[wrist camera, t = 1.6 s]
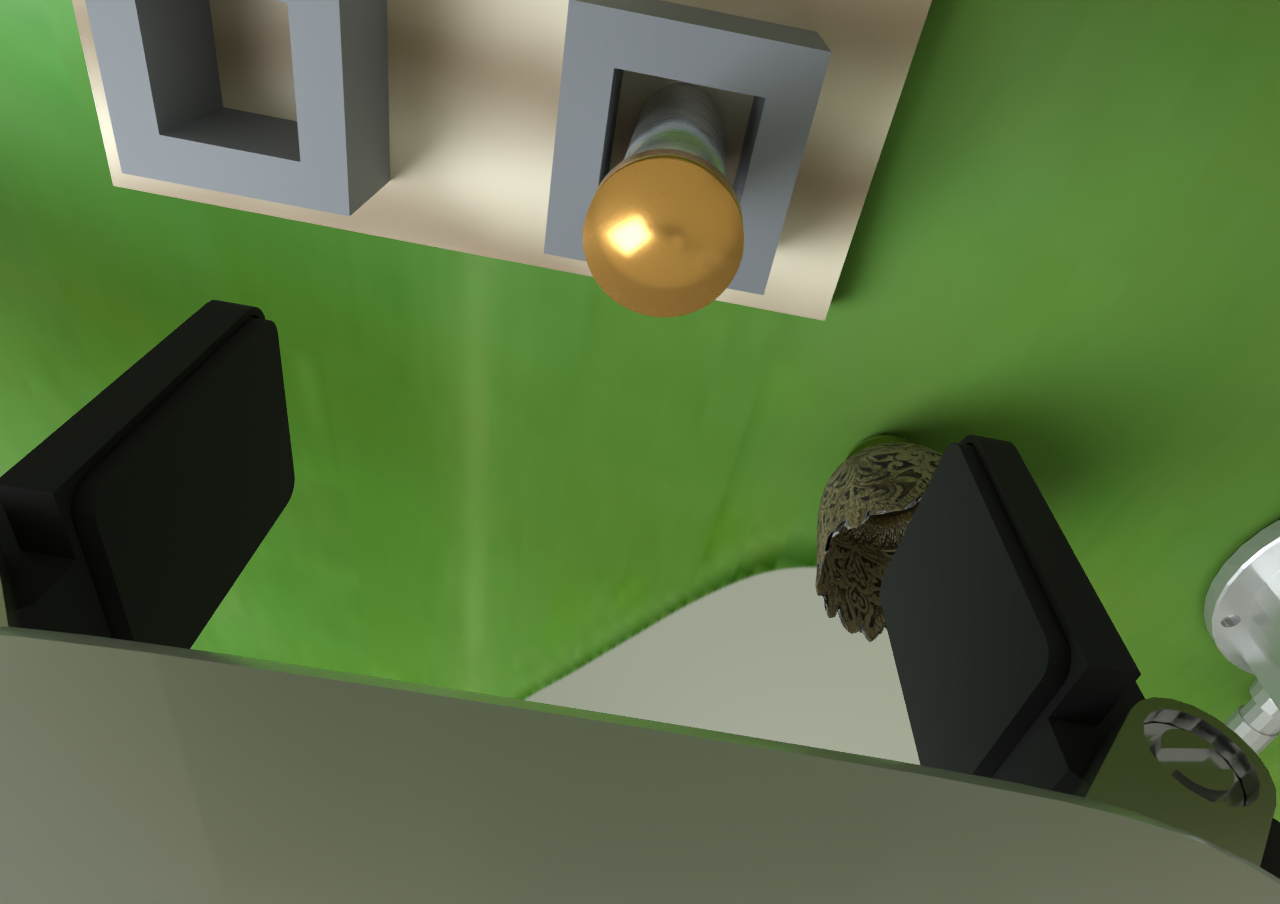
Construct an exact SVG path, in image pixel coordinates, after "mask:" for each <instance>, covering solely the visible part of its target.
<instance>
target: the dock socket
mask: <svg viewBox="0 0 1280 904" xmlns="http://www.w3.org/2000/svg"><path fill="white" fill-rule="evenodd" d="M275 1H280V2H285V3H287V4H288V16H289V28H290V40H291V52H292V64H293V76H294V88H295V100H296V112H297V121H293V120H287V119H282V118H277V117H272V116H267V115H262V114H257V113H251V112H246V111H241V110H236V109H231V108H226V107H223V101H222V94H221V86H220V79H219V71H218V64H217V57H216V49H215V42H214V34H213V27H212V19H211V12H210V4H209V0H85V3H86V8H87V13H88V17H89V22H90V27H91V31H92V36H93V40H94V45H95V50H96V54H97V59H98V64H99V68H100V73H101V78H102V82H103V87H104V92H105V96H106V101H107V106H108V110H109V115H110V120H111V124H112V129H113V134H114V138H115V143H116V148H117V152H118V157H119V162H120V166H121V171H122V173H124V174H129V175H134V176H140V177H145V178H150V179H155V180H161V181H166V182H171V183H176V184H182V185H187V186H192V187H197V188H203V189H208V190H213V191H218V192H224V193H229V194H234V195H239V196H245V197H250V198H255V199H260V200H266V201H271V202H276V203H281V204H287V205H292V206H297V207H302V208H308V209H313V210H318V211H323V212H329V213H334V214H339V215H344V216H351V215H352V214H353V213H354V212H355V211H356V210H358V209H359V208H360V207H361V206H362V205H363V204H364V203H366V202H367V201H368V200H369V199H370V198H371V197H372V196H373V195H375V194H376V193H377V192H378V191H379V190H380V189H381V188H383V187H384V186H385V185H386V184H387V183H388V182H389V181H390V140H389V85H388V30H387V0H275Z"/></svg>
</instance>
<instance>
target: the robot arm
mask: <svg viewBox="0 0 1280 904" xmlns="http://www.w3.org/2000/svg"><path fill="white" fill-rule="evenodd" d="M294 481H295V479H294V467H293V459H292V450H291V442H290V433H289V425H288V416H287V407H286V399H285V390H284V382H283V373H282V365H281V356H280V348H279V339H278V332H277V327H276V325H275V323H274V322H272V321H270V320H265V316H264V314H263V312H262V311H261V310H260V309H259V308H258V307H252V306H247V305H241V304H236V303H230V302H224V301H219V300H211V301H210V302H208V303H206V304H205V305H204V306H203V307H202V308H200V309H199V310H198V311H197V312H196V313H195V314H193V315H192V316H191V317H190V318H189V319H187V320H186V321H185V322H184V323H183V324H181V325H180V326H179V327H178V328H177V329H176V330H174V331H173V332H172V333H171V334H170V335H168V336H167V337H166V338H165V339H164V340H163V341H161V342H160V343H159V344H158V345H157V346H155V347H154V348H153V349H152V350H151V351H149V352H148V353H147V354H146V355H145V356H144V357H142V358H141V359H140V360H139V361H138V362H136V363H135V364H134V365H133V366H132V367H131V368H129V369H128V370H127V371H126V372H125V373H123V374H122V375H121V376H120V377H119V378H117V379H116V380H115V381H114V382H113V383H112V384H110V385H109V386H108V387H107V388H106V389H104V390H103V391H102V392H101V393H100V394H99V395H97V396H96V397H95V398H94V399H93V400H91V401H90V402H89V403H88V404H87V405H85V406H84V407H83V408H82V409H81V410H80V411H78V412H77V413H76V414H75V415H74V416H72V417H71V418H70V419H69V420H68V421H67V422H65V423H64V424H63V425H62V426H61V427H59V428H58V429H57V430H56V431H55V432H54V433H52V434H51V435H50V436H49V437H48V438H46V439H45V440H44V441H43V442H42V443H40V444H39V445H38V446H37V447H36V448H35V449H33V450H32V451H31V452H30V453H29V454H27V455H26V456H25V457H24V458H23V459H22V460H20V461H19V462H18V463H17V464H16V465H14V466H13V467H12V468H11V469H10V470H8V471H7V472H6V473H5V474H4V475H3V476H1V477H0V904H1280V822H1278V821H1277V820H1275V819H1274V818H1273V815H1274V811H1275V808H1276V788H1275V786H1274V783H1273V781H1272V778H1271V776H1270V774H1269V771H1268V769H1267V768H1266V767H1265V765H1264V764H1263V762H1262V761H1261V760H1260V758H1259V757H1258V755H1257V754H1259V753H1260V752H1261V751H1262V750H1263V749H1264V748H1265V747H1266V746H1267V745H1268V744H1269V743H1270V742H1271V741H1272V740H1274V739H1275V738H1276V737H1277V736H1278V733H1279V731H1280V519H1279V520H1278V521H1276V522H1274V523H1273V524H1271V525H1269V526H1267V527H1266V528H1264V529H1263V530H1261V531H1260V532H1259V533H1257V534H1256V535H1255V536H1253V537H1252V538H1251V539H1250V540H1248V541H1247V542H1246V543H1244V544H1243V545H1242V546H1241V547H1240V548H1239V549H1238V550H1237V551H1236V552H1235V553H1234V554H1233V555H1232V556H1231V557H1230V558H1229V559H1228V560H1227V561H1226V562H1225V563H1224V565H1223V566H1222V568H1221V569H1220V571H1219V572H1218V573H1217V575H1216V576H1215V578H1214V579H1213V581H1212V583H1211V585H1210V588H1209V590H1208V593H1207V595H1206V598H1205V606H1204V619H1205V624H1206V629H1207V631H1208V633H1209V634H1210V636H1211V638H1212V639H1213V641H1214V643H1215V644H1216V646H1217V648H1218V649H1219V650H1220V651H1221V653H1222V654H1223V655H1224V656H1225V657H1226V658H1227V660H1228V661H1230V662H1231V663H1233V664H1234V665H1236V666H1237V667H1239V668H1240V669H1242V670H1243V671H1246V672H1248V673H1251V674H1253V675H1255V676H1256V678H1257V679H1256V680H1255V681H1254V682H1253V683H1252V684H1251V685H1250V689H1249V692H1250V694H1251V696H1252V698H1251V699H1250V700H1249V701H1248V702H1247V703H1246V704H1245V705H1242V706H1240V707H1239V708H1238V709H1237V710H1236V711H1235V712H1234V713H1233V714H1232V715H1231V716H1230V717H1229V718H1228V719H1227V720H1226V721H1225V722H1224V723H1222V722H1220V721H1219V720H1218V719H1216V718H1215V717H1213V716H1211V715H1209V714H1207V713H1206V712H1204V711H1202V710H1200V709H1198V708H1196V707H1194V706H1192V705H1189V704H1186V703H1183V702H1180V701H1177V700H1174V699H1167V698H1157V697H1153V698H1149V699H1145V698H1144V696H1143V694H1142V692H1141V691H1140V689H1139V687H1138V685H1137V683H1136V680H1137V679H1138V677H1139V676H1140V675H1141V673H1140V672H1139V670H1138V668H1137V666H1136V664H1135V662H1134V661H1133V659H1132V657H1131V655H1130V653H1129V652H1128V650H1127V648H1126V646H1125V644H1124V643H1123V641H1122V639H1121V637H1120V635H1119V634H1118V632H1117V630H1116V628H1115V626H1114V624H1113V623H1112V621H1111V619H1110V617H1109V615H1108V614H1107V612H1106V610H1105V608H1104V606H1103V605H1102V603H1101V601H1100V599H1099V597H1098V596H1097V594H1096V592H1095V590H1094V588H1093V586H1092V585H1091V583H1090V581H1089V579H1088V577H1087V576H1086V574H1085V572H1084V570H1083V568H1082V567H1081V565H1080V563H1079V561H1078V559H1077V557H1076V556H1075V554H1074V552H1073V550H1072V548H1071V547H1070V545H1069V543H1068V541H1067V539H1066V538H1065V536H1064V534H1063V532H1062V530H1061V529H1060V527H1059V525H1058V523H1057V521H1056V519H1055V518H1054V516H1053V514H1052V512H1051V510H1050V509H1049V507H1048V505H1047V503H1046V501H1045V500H1044V498H1043V496H1042V494H1041V492H1040V491H1039V489H1038V487H1037V485H1036V483H1035V481H1034V480H1033V478H1032V476H1031V474H1030V472H1029V471H1028V469H1027V467H1026V465H1025V463H1024V462H1023V460H1022V458H1021V456H1020V454H1019V453H1018V451H1017V449H1016V447H1015V446H1014V445H1013V444H1012V443H1011V442H1008V441H1002V440H997V439H991V438H985V437H980V436H974V435H969V436H966V437H965V438H964V439H963V440H962V441H961V442H960V443H955V442H954V443H951V444H950V445H949V446H948V447H947V448H946V450H945V452H944V454H943V456H942V458H941V460H940V462H939V464H938V466H937V468H936V470H935V472H934V474H933V476H932V478H931V480H930V482H929V484H928V486H927V488H926V490H925V492H924V495H923V497H922V499H921V501H920V503H919V505H918V507H917V509H916V511H915V513H914V515H913V517H912V519H911V521H910V523H909V525H908V527H907V529H906V531H905V533H904V535H903V537H902V539H901V541H900V543H899V546H898V548H897V550H896V552H895V554H894V556H893V558H892V560H891V562H890V564H889V566H888V568H887V570H886V572H885V574H884V576H883V579H882V583H881V588H880V601H881V606H882V610H883V614H884V618H885V622H886V626H887V630H888V634H889V638H890V643H891V647H892V651H893V655H894V659H895V663H896V667H897V671H898V675H899V679H900V683H901V687H902V691H903V695H904V700H905V704H906V707H907V712H908V715H909V719H910V724H911V728H912V732H913V736H914V740H915V744H916V748H917V752H918V757H919V760H920V765H914V764H910V763H904V762H899V761H893V760H887V759H881V758H875V757H869V756H863V755H857V754H851V753H845V752H839V751H833V750H827V749H820V748H815V747H809V746H802V745H797V744H790V743H784V742H778V741H772V740H766V739H760V738H754V737H748V736H742V735H735V734H730V733H724V732H718V731H712V730H706V729H700V728H694V727H687V726H681V725H675V724H669V723H662V722H656V721H650V720H644V719H638V718H631V717H625V716H619V715H613V714H606V713H600V712H594V711H587V710H581V709H575V708H569V707H563V706H556V705H549V704H544V703H537V702H531V701H525V700H519V699H512V698H506V697H500V696H493V695H487V694H481V693H474V692H468V691H462V690H455V689H449V688H443V687H436V686H430V685H423V684H417V683H410V682H404V681H397V680H391V679H384V678H378V677H371V676H365V675H358V674H352V673H345V672H339V671H333V670H326V669H320V668H313V667H307V666H300V665H294V664H287V663H281V662H274V661H268V660H261V659H255V658H248V657H242V656H235V655H229V654H221V653H214V652H207V651H200V650H193V649H190V648H191V646H192V645H193V644H194V642H195V641H196V639H197V638H198V636H199V635H200V633H201V632H202V630H203V629H204V627H205V626H206V624H207V623H208V621H209V620H210V618H211V617H212V615H213V614H214V612H215V611H216V609H217V608H218V606H219V605H220V603H221V602H222V600H223V599H224V597H225V596H226V594H227V593H228V591H229V590H230V588H231V587H232V585H233V584H234V582H235V581H236V579H237V578H238V577H239V575H240V574H241V572H242V571H243V569H244V568H245V566H246V565H247V563H248V562H249V560H250V559H251V557H252V556H253V554H254V553H255V551H256V550H257V548H258V547H259V545H260V544H261V542H262V541H263V539H264V538H265V536H266V535H267V533H268V532H269V530H270V529H271V527H272V526H273V524H274V523H275V521H276V520H277V518H278V517H279V515H280V514H281V512H282V511H283V510H284V508H285V507H286V505H287V504H288V502H289V500H290V498H291V495H292V492H293V488H294Z"/></svg>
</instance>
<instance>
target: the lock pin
mask: <svg viewBox="0 0 1280 904" xmlns="http://www.w3.org/2000/svg"><path fill="white" fill-rule="evenodd" d="M583 249H584V254H585V258H586V261H587V264H588V267H589V269H590V271H591V273H592V275H593V277H594V279H595V280H596V282H597V283H598V285H599V286H600V287H601V288H602V289H603V290H604V292H605V293H606V294H607V295H609V296H610V297H611V298H612V299H613V300H614V301H616V302H617V303H619V304H620V305H622V306H624V307H626V308H627V309H629V310H632V311H634V312H637V313H640V314H644V315H648V316H654V317H675V316H681V315H685V314H689V313H692V312H694V311H697V310H699V309H701V308H703V307H705V306H707V305H708V304H710V303H711V302H713V301H714V300H715V299H716V298H718V297H719V296H720V295H721V294H722V293H723V292H724V291H725V290H726V288H727V287H728V286H729V285H730V283H731V282H732V280H733V279H734V277H735V275H736V273H737V271H738V269H739V266H740V263H741V260H742V255H743V250H744V229H743V217H742V211H741V206H740V202H739V200H738V197H737V195H736V192H735V191H734V189H733V187H732V185H731V184H730V182H729V181H728V180H727V178H726V177H725V157H724V125H723V118H722V114H721V111H720V108H719V107H718V105H717V103H716V101H715V100H714V99H713V98H712V96H711V95H710V94H709V93H707V92H706V91H705V90H703V89H702V88H700V87H698V86H695V85H692V84H688V83H674V84H670V85H667V86H664V87H662V88H660V89H659V90H657V91H656V92H654V93H653V94H652V95H651V96H650V97H649V98H648V100H647V101H646V102H645V104H644V106H643V108H642V110H641V112H640V115H639V118H638V121H637V124H636V126H635V129H634V132H633V135H632V138H631V141H630V144H629V147H628V149H627V152H626V155H625V158H624V161H622V162H620V163H619V164H618V165H616V166H615V167H614V168H613V169H612V170H611V171H610V172H609V173H608V174H607V175H606V176H605V177H604V179H603V180H602V182H601V183H600V185H599V186H598V188H597V190H596V192H595V194H594V196H593V199H592V201H591V204H590V206H589V209H588V212H587V215H586V217H585V222H584V227H583Z"/></svg>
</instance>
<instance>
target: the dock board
mask: <svg viewBox="0 0 1280 904" xmlns="http://www.w3.org/2000/svg"><path fill="white" fill-rule="evenodd" d="M662 1H667V2H672V3H677V4H682V5H687V6H692V7H696V8H701V9H706V10H711V11H716V12H721V13H726V14H731V15H736V16H741V17H746V18H751V19H756V20H761V21H766V22H771V23H776V24H781V25H786V26H791V27H796V28H801V29H806V30H810V31H815V32H818V34H819V35H820V37H821V38H822V39H823V41H824V42H825V44H826V45H827V46H828V48H829V49H830V50H831V52H832V53H831V56H830V60H829V64H828V67H827V71H826V74H825V78H824V81H823V85H822V89H821V92H820V96H819V99H818V103H817V106H816V110H815V114H814V117H813V121H812V124H811V128H810V131H809V135H808V139H807V142H806V146H805V149H804V153H803V156H802V160H801V164H800V167H799V171H798V174H797V178H796V181H795V185H794V189H793V192H792V196H791V199H790V203H789V206H788V210H787V214H786V217H785V221H784V224H783V228H782V231H781V235H780V239H779V242H778V246H777V249H776V253H775V256H774V260H773V264H772V267H771V271H770V274H769V278H768V281H767V285H766V289H765V292H764V295H759V294H754V293H749V292H744V291H738V290H733V289H728V288H726V290H725V291H724V292H723V293H722V294H721V295H720V296H719V297H718V298H716V299H715V300H718V301H723V302H729V303H734V304H739V305H745V306H750V307H755V308H760V309H766V310H771V311H776V312H781V313H787V314H792V315H797V316H802V317H808V318H813V319H818V320H824V321H825V318H826V315H827V312H828V309H829V306H830V303H831V300H832V297H833V294H834V291H835V288H836V285H837V282H838V279H839V276H840V273H841V270H842V267H843V264H844V261H845V258H846V255H847V252H848V249H849V246H850V243H851V240H852V237H853V235H854V232H855V229H856V226H857V223H858V220H859V217H860V214H861V211H862V208H863V205H864V202H865V199H866V196H867V193H868V190H869V187H870V184H871V181H872V178H873V175H874V172H875V169H876V166H877V163H878V160H879V157H880V154H881V151H882V148H883V145H884V142H885V139H886V136H887V133H888V130H889V127H890V124H891V121H892V118H893V115H894V112H895V109H896V106H897V103H898V100H899V98H900V95H901V92H902V89H903V86H904V83H905V80H906V77H907V74H908V71H909V68H910V65H911V62H912V59H913V56H914V53H915V50H916V47H917V44H918V41H919V38H920V35H921V32H922V29H923V26H924V23H925V20H926V17H927V14H928V11H929V8H930V5H931V2H932V0H662ZM72 2H73V7H74V11H75V16H76V20H77V25H78V29H79V34H80V38H81V43H82V47H83V52H84V56H85V61H86V65H87V70H88V74H89V79H90V83H91V88H92V92H93V97H94V101H95V106H96V110H97V115H98V119H99V124H100V128H101V133H102V137H103V142H104V146H105V151H106V155H107V159H108V164H109V168H110V173H111V177H112V182H113V186H118V187H123V188H128V189H134V190H139V191H144V192H149V193H155V194H160V195H165V196H170V197H176V198H181V199H186V200H191V201H197V202H202V203H207V204H213V205H218V206H223V207H228V208H234V209H239V210H244V211H249V212H255V213H260V214H265V215H270V216H276V217H281V218H286V219H292V220H297V221H302V222H307V223H313V224H318V225H323V226H328V227H334V228H339V229H344V230H349V231H355V232H360V233H365V234H371V235H376V236H381V237H386V238H392V239H397V240H402V241H407V242H413V243H418V244H423V245H428V246H434V247H439V248H444V249H450V250H455V251H460V252H465V253H471V254H476V255H481V256H486V257H492V258H497V259H502V260H507V261H513V262H518V263H523V264H529V265H534V266H539V267H544V268H550V269H555V270H560V271H565V272H571V273H576V274H581V275H587V276H592V277H593V275H592V273H591V271H590V269H589V267H588V264H587V262H586V261H581V260H575V259H570V258H565V257H560V256H554V255H549V254H544V244H545V234H546V224H547V214H548V204H549V194H550V184H551V174H552V164H553V154H554V144H555V134H556V124H557V114H558V104H559V94H560V84H561V74H562V64H563V54H564V44H565V34H566V24H567V14H568V4H569V0H387V30H388V85H389V140H390V181H389V182H388V183H387V184H386V185H385V186H384V187H383V188H381V189H380V190H379V191H378V192H377V193H376V194H375V195H373V196H372V197H371V198H370V199H369V200H368V201H367V202H366V203H364V204H363V205H362V206H361V207H360V208H359V209H358V210H356V211H355V212H354V213H353V214H352V215H351V216H344V215H339V214H334V213H329V212H323V211H318V210H313V209H308V208H302V207H297V206H292V205H287V204H281V203H276V202H271V201H266V200H260V199H255V198H250V197H245V196H239V195H234V194H229V193H224V192H218V191H213V190H208V189H203V188H197V187H192V186H187V185H182V184H176V183H171V182H166V181H161V180H155V179H150V178H145V177H140V176H134V175H129V174H124V173H122V171H121V166H120V162H119V157H118V152H117V148H116V143H115V138H114V134H113V129H112V124H111V120H110V115H109V110H108V106H107V101H106V96H105V92H104V87H103V82H102V78H101V73H100V68H99V64H98V59H97V54H96V50H95V45H94V40H93V36H92V31H91V27H90V22H89V17H88V13H87V8H86V3H85V0H72ZM209 4H210V12H211V19H212V27H213V34H214V42H215V49H216V57H217V64H218V71H219V79H220V86H221V94H222V101H223V107H226V108H231V109H236V110H241V111H246V112H251V113H257V114H262V115H267V116H272V117H277V118H282V119H287V120H293V121H297V112H296V100H295V88H294V76H293V64H292V52H291V40H290V28H289V16H288V4H287V3H285V2H280V1H275V0H209ZM674 83H687V82H682V81H677V80H672V79H667V78H662V77H657V76H652V75H647V74H642V73H637V72H632V71H627V70H623V77H622V84H621V91H620V98H619V105H618V112H617V119H616V126H615V133H614V141H613V148H612V155H611V162H610V169H609V172H610V171H611V170H612V169H613V168H614V167H615V166H616V165H618V164H619V163H620V162H622V161H624V158H625V155H626V152H627V149H628V147H629V144H630V141H631V138H632V135H633V132H634V129H635V126H636V124H637V121H638V118H639V115H640V112H641V110H642V108H643V106H644V104H645V102H646V101H647V100H648V98H649V97H650V96H651V95H652V94H653V93H654V92H656V91H657V90H659V89H660V88H662V87H664V86H667V85H670V84H674ZM688 84H692V83H688ZM692 85H695V86H698V87H700V88H702V89H703V90H705V91H706V92H707V93H709V94H710V95H711V96H712V98H713V99H714V100H715V101H716V103H717V105H718V107H719V108H720V111H721V114H722V118H723V125H724V157H725V177H726V178H727V180H728V181H729V182H730V184H731V185H732V187H733V185H734V180H735V176H736V172H737V168H738V163H739V159H740V155H741V151H742V146H743V142H744V138H745V134H746V129H747V125H748V121H749V117H750V112H751V108H752V104H753V100H754V96H753V95H748V94H743V93H738V92H733V91H728V90H723V89H718V88H713V87H708V86H702V85H697V84H692Z"/></svg>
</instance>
